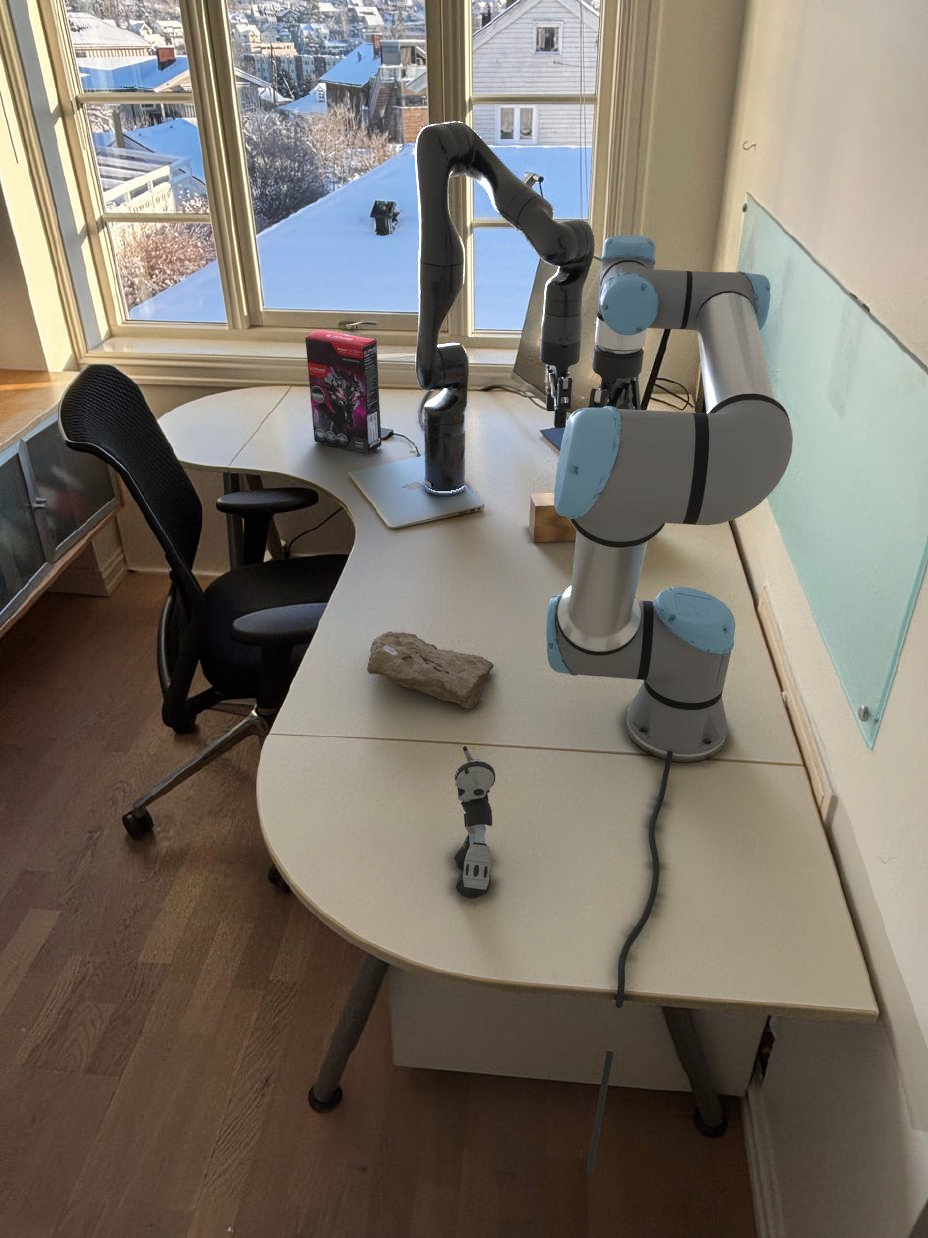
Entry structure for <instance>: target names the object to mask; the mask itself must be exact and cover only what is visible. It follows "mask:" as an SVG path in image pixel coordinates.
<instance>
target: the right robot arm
mask: <svg viewBox="0 0 928 1238" xmlns="http://www.w3.org/2000/svg"><path fill="white" fill-rule="evenodd" d="M656 250H657V249H656V243H655V241H654V240H653V239H652V238H650V237H647V236H643V235H637V234H617V235H612V236H609V237H608V238H606V239H605V241H604V243H603V246H602V253H601V258H600V272H599V273H600V274H599V284H598V300H597V301H598V302H597V311H596V319H595V320H594V321H593V326H594V327H595V334H594V343H595V344H596V345H595V346H594V347H593V352H592V353H593V354H592V363H591V364H592V366H591V367H592V370H593V372H594V373H595V374H596V375H598V376H599V377H600V383H599V385H598V388H594V387H592V388H591V390H590V394H589V402H588V406H587V407H581V408H578V409H576V410H574V411H573V412H572V413H571V414H570V415H569V417H568V419H567V420H566V426H565V427H564V431H563V434H562V437H561V438H562V439H561V444H560V452H559V456H558V461H557V466H556V473H555V482H554V483H555V484H554V492H553V493H554V508H555V510H556V512H557V513H558V514H559V515H561V516H566V517H567V518H569V519H570V522H571V524H572V525H573V527H574V528H575V529H576V530H577V533H576V540H575V544H574V553H573V563H572V574H571V583H570V586H569V587H568V588H566V590H565V591H564V592H562V593H559V594H554V595H552V596H551V597H550V599H549V601H548V606H547V614H546V627H545V628H546V630H545V632H546V633H545V635H546V636H545V637H546V638H545V639H546V654H547V656H546V657H547V662H548V664H549V667H550V668H551V669H552V670H553V671H554V672H557V673H560V674H566V675H570V676H574V677H575V676H589V677H600V678H601V677H603V678H614V679H627V680H639V681H643V682H642V684H641V685H640V688H639V689H638V691H637V692H636V694H635V695H634V697H633V699H632V701H631V702H630V704H629V706H628V708H627V711H626V719H625V728H626V732H627V734H628V736H629V738H630V739H631V741H632V742H634V744H636V745H637V746H638V747H639V748H640V749H641V750H643V751H645V752H646V753H648V754H650V755H651V756H654V757H656V758H659V759H662V760H665V762H664V767H663V771H662V777H661V783H660V787H659V792H658V797H657V798H656V803H655V805H654V808H653V811H652V814H651V817H650V821H649V826H648V843H649V848H650V853H651V860H652V879H651V887H650V891H649V895H648V898H647V902H646V905H645V907H644V910H643V912H642V915H641V916H640V918H639V920H638V922H637V923H636V925H635V927H633V929H632V930H631V932H630V934H629V935H628V936H627V938H626V940H625V942H624V944H623V945H622V947H621V948H622V949H621V952H620V955H619V959H618V963H617V964H618V965H617V991H616V997H615V998H616V999H615V1007H616V1009H622V1007H623V1005H624V999H625V991H626V990H625V989H626V962H627V957H628V954H629V952H630V949H631V947H632V946H633V944H634V942H635V941H636V939H637V938H638V936H639V934H640V933H641V932H642V930H643V929H644V927H645V925H646V923H647V922H648V919H649V917H650V915H651V912H652V909H653V906H654V903H655V901H656V897H657V892H658V888H659V881H660V858H659V852H658V848H657V843H656V833H655V832H656V824H657V820H658V816H659V814H660V811H661V808H662V805H663V802H664V798H665V794H666V790H667V784H668V779H669V776H670V775H669V774H670V769H671V764H672V762H675V763H694V762H700V761H703V760H706V759H709V758H711V757H714V755H716V754H718V752H720V751H721V750H722V748H723V747H724V744H725V743H726V740H727V739H726V738H727V733H728V721H727V716H726V712H725V708H724V707H725V706H724V701H723V692H724V686H725V682H726V678H727V674H728V673H727V672H728V668H729V664H730V659H731V654H732V651H733V649H734V646H735V632H736V620H735V617H734V614H733V612H732V610H731V609H730V608H729V607H728V605H726V603H724V602H723V601H722V600H720V599H718V598H717V597H716V596H714V595H712V594H711V593H708V592H707V591H704V590H700V589H697V588H693V587H687V586H671V587H669V588H665V589H663V590H661V591H659V593H657V596H656V597H655V598H654V600H643V599H640V600H639V599H638V598H637V597H636V595H637V590H638V585H639V581H640V577H641V573H642V568H643V564H644V561H645V555H646V552H647V547H648V543H649V542H651V541H652V540H653V539H655V538H656V537H657V536H658V535H659V533H660V532H662V530H663V529H664V527H665V526H666V524H674V525H675V524H676V525H691V526H714V525H720V524H725V523H727V522H731V521H733V520H736V519H738V518H740V517H742V516H744V515H746V514H747V513H749V512H750V511H752V510H754V509H755V508H756V507H758V506H759V505H760V504H761V503H763V502H764V501H765V500H766V499H767V498H768V496H769V495H770V494H771V493H773V491H774V490H775V488H776V487H777V486H778V485H779V483H780V482H781V480H782V478H783V477H784V475H785V473H786V471H787V469H788V466H789V464H790V460H791V457H792V453H793V442H794V440H793V436H794V435H793V429H792V425H791V420H790V416H789V413H788V411H787V410H786V408H785V406H784V405H783V404H782V403H781V402H780V401H779V400H777V399H776V398H775V395H774V390H773V386H772V382H771V377H770V372H769V368H768V367H769V366H768V363H767V359H766V353H765V350H764V349H765V348H764V346H763V341H762V337H761V332H760V331H761V330H763V328H764V327H765V324H766V322H767V320H768V316H769V310H770V305H771V282H770V280H769V278H768V277H767V276H766V275H764V274H761V273H760V274H759V273H752V272H751V273H750V272H746V271H734V272H733V271H701V270H699V271H697V270H673V269H655V265H656ZM648 329H657V330H658V329H660V330H661V329H662V330H683V331H684V330H685V331H696V334H697V341H698V342H697V344H698V351H699V360H700V361H699V362H700V369H701V377H702V385H703V394H704V403H705V411H706V412H692V411H675V410H674V411H671V410H652V409H651V410H650V409H649V410H648V409H642V405H641V395H640V382H639V381H640V380H639V375H640V374H641V373H642V371H643V362H644V355H645V351H644V349H643V347H644V346H645V345H646V340H647V331H648ZM613 1059H614V1051H610V1050H606V1053H605V1058H604V1064H603V1070H602V1076H601V1083H600V1088H599V1094H598V1101H597V1106H596V1111H595V1118H594V1124H593V1130H592V1136H591V1141H590V1150H589V1154H588V1160H587V1162H588V1163H587V1166H586V1174H587V1175H593V1173H594V1169H595V1168H594V1167H595V1162H596V1157H597V1150H598V1144H599V1139H600V1134H601V1133H600V1132H601V1127H602V1121H603V1115H604V1109H605V1105H606V1099H607V1092H608V1088H609V1087H608V1086H609V1081H610V1075H611V1069H612V1066H613V1065H612V1064H613Z"/></svg>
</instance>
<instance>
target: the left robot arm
mask: <svg viewBox="0 0 928 1238" xmlns="http://www.w3.org/2000/svg"><path fill="white" fill-rule="evenodd" d="M414 154H415V155H414V156H415V157H414V159H415V174H416V186H417V196H418V197H417V199H418V218H419V219H418V221H419V226H418V227H419V249H418V299H419V300H418V322H417V323H418V326H417V336H416V347H415V362H414V363H415V364H414V367H415V368H414V369H415V376H416V381H417V384H418V386H419V387H420V388H421V389H422V390H423V391H426V392H425V394H424V395H423V397H422V398H421V400H420V403H419V406H418V410H417V411H418V412H417V416H418V421H419V422H418V423H419V424H420V427H421V428H422V430H423V432H424V433H423V434H424V437H423V438H424V440H423V441H424V481H423V482H424V490H425V491H426V492H427V493H428V494H431V495H433V496H439V497H451V496H456V495H459V494H461V493H462V492H465V489H466V411H467V408H468V395H469V380H470V360H469V355H468V352H467V350H466V347H465V346H464V345H463V344H462V343H459V342H450V343H449V342H448V343H442V344H439V339H440V333H441V329H442V327H443V324H444V323H445V321H446V319H447V316H448V315H449V313H450V312H451V310H452V309H453V307H454V305H455V303H456V302H457V300H458V298H459V297H460V295H461V292H462V290H463V287H464V284H465V276H466V275H465V271H466V270H465V269H466V249H465V246H464V245H465V244H464V242H463V239H462V237H461V234H460V233H459V230H458V228H457V226H456V225H455V223H454V220H453V218H452V215H451V211H450V203H449V184H450V179H452V178H456V177H460V176H465V177H468V178H470V179H472V180H474V181H475V182H477V183H478V184H479V185H481V186H482V187H483V188H484V189H485V191H486V192H487V194H488V196H489V199H490V201H491V204H492V206H493V208H494V210H495V211H496V212H497V214H498V215H499V216H500V217H501V218H502V219H503V220H504V221H505V222H506V223H508V224H509V225H510V226H511V227H513V228H514V230H516V231H517V232H519V233H520V234H521V235H522V236H524V238H525V239H526V241H527V243H528V245H529V246H530V247H531V248H532V249H533V251H534V252H535V253H536V255H537V257H539V258H540V259H541V260H542V261H543V262H544V263H546V264H548V265H549V266H553V267H557V270H556V273H555V274H554V275H552V277H550V278H549V279H548V280H547V281H546V283H545V286H544V295H543V296H544V297H543V312H542V313H543V314H542V317H541V318H542V319H541V327H540V345H539V360H540V362H541V363H542V364H544V365H545V369H544V370H545V371H544V381H543V384H544V386H545V392H546V399H545V401H546V402H545V410H546V411H547V412H554V415H553V426H554V429H563V428H564V429H565V427H566V424H567V414H568V413H567V411H568V410H571V408H572V393H573V392H572V390H573V377H571V372H569V367H571V366H575V365H576V364H578V363H579V361H580V356H581V346H582V345H581V344H582V333H583V332H582V331H583V316H582V315H583V303H584V302H583V301H584V290H585V289H584V288H585V286H586V283H587V280H588V276H589V272H590V270H591V267H592V264H593V261H594V260H593V259H594V257H595V250H596V238H595V233H594V230H593V228H592V226H591V225H590V224H589V222H588V221H586V220H584V219H578V218H575V219H570V220H567V221H561V222H558V221H556V220H554V217H555V211H554V208H553V205H552V204H551V203H550V202H549V201H548V200H547V199H546V198H545V197H543V196H542V195H541V194H539V193H538V192H537V191H536V190H534V189H533V188H531V187H530V186H529V185H528V184H526V183H525V182H524V181H523V180H522V179H521V178H519V177H518V175H516V174H514V172H512V171H511V170H510V168H508V166H507V165H506V164H505V163H504V161H502V160H501V159H500V158H499V156H498V155H497V154H496V153H495V152H494V151H493V150H492V149H491V147H490V146H488V144H487V143H486V142H485V141H484V140H483V139H482V137H481V136H480V135H479V134H478V133H477V131H475V130H474V129H473V128H472V127H471V126H470V125H468V124H467V123H465V122H462V121H447V122H441V123H434V124H430V125H429V124H428V125H427V126H425V127H423V128H422V129H421V130H420V131H419V133H418V134H417V138H416V143H415V152H414ZM441 390H442V391H441ZM432 391H440V393H439V394H437V395H436V396H434V397H433V398H431V399H429V400H428V401H427V402H426V403H425V400H426V399H427V397H428V395H430V392H432ZM562 398H563V400H564V402H562ZM424 403H425V404H424ZM423 404H424V405H423ZM422 409H423V419H422ZM425 485H426V486H427V487H428V488H430V489H432V490H435V491H451V490H456V489H459V488H461V487H462V486H464V485H465V487H464V488H463V489H461V490H459V491H456V492H452V493H438V492H433V491H431V490H429V489H427V488H426V487H425Z"/></svg>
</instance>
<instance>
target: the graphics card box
mask: <svg viewBox="0 0 928 1238" xmlns="http://www.w3.org/2000/svg"><path fill="white" fill-rule="evenodd" d="M304 340H305V348H306V361H307V369H308V370H307V371H308V373H307V374H308V383H309V394H310V405H311V407H310V408H311V417H312V418H311V419H312V429H313V441H314V443H319V444H323V445H327V446H332V447H335V448H341V449H346V450H350V451H354V452H359V453H363V454H370V453H372V452H373V451H375V450H377V449H379V448H380V447H382V429H381V428H382V426H381V425H382V424H381V423H382V422H381V407H380V388H379V387H380V386H379V366H378V365H379V364H378V341H377V338H369V337H363V336H357V335H354V334H347V333H341V332H335V331H330V330H325V329H317V330H314V331H313V332H310V333H309V334H308V335H306V336H305V337H304Z"/></svg>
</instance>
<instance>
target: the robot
mask: <svg viewBox="0 0 928 1238" xmlns="http://www.w3.org/2000/svg"><path fill="white" fill-rule="evenodd" d="M462 751H463V753H464V755H465V759H466V762H464V763H462V764H461V765H460V766H459V767H458V768H456V771H455V774H454V785H455V786H456V787H457V788H456V789H457V799H458V801H460V804H461V807H462V809H463V811H464V813H463V820H464V822H463V823H464V828H465V830H466V832H467V836H466V837H465V840H464V841H463V844H462V845H461V847H460V848H459V850H458V851H457V852H456V854H454V855H455V856H454V857H453V859H454V862H455V863H456V866H457V867H458V868H460V869H461V870H462V871H461V873H460V875H459V877H458V878H457V882H456V885H455V889H456V890H457V891H458V893H460V895H461V896H463V897H466V898H470V899H472V898H478V897H479V896H482V895H484V894H486V893H488V892H489V890H490V887H491V869H492V854H491V849H490V846H488V844H487V843H486V837H485V835H486V826H488V827H493V812H492V811H493V810H492V807H491V804H490V803H489V793H490V791H491V790H490V789H491V788H492V787H493V786H494V784H495V783H496V772H495V769H494V767H493V766H492V765H491V764H489V763H488V762H486V761H484V760H482V759H480V758H474V757H473V756H472V755H471V753H470V751H469V749H468V747H467V746H466V745H463V747H462Z"/></svg>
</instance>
